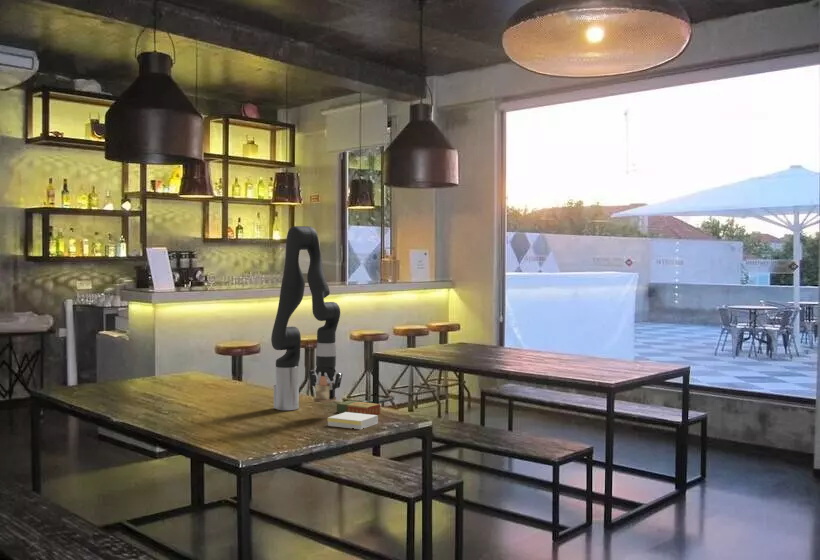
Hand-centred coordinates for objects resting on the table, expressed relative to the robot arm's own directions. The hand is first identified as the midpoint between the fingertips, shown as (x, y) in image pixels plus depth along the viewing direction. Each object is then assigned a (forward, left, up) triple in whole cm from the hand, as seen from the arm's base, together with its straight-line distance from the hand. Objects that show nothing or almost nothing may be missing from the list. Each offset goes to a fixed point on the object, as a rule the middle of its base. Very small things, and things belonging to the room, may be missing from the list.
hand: (325, 398), depth 296 cm
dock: (+16, -6, -7) cm, 19 cm away
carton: (+7, +14, -8) cm, 17 cm away
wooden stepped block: (0, 0, -1) cm, 1 cm away
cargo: (0, 0, +5) cm, 5 cm away
